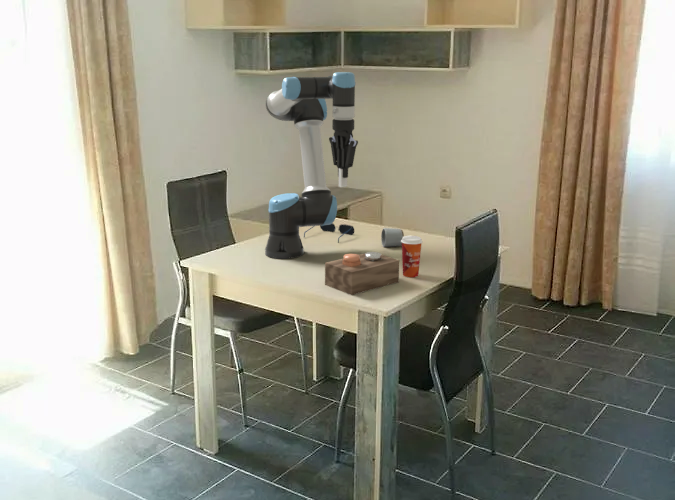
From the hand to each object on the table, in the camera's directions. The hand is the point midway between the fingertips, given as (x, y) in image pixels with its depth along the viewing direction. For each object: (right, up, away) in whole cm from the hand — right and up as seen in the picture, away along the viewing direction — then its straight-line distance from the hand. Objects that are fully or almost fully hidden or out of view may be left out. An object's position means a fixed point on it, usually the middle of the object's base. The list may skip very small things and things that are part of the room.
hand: (342, 186), depth 270 cm
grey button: (+11, -31, +2) cm, 33 cm away
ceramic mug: (+20, -21, +48) cm, 56 cm away
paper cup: (+25, -32, +9) cm, 41 cm away
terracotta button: (+3, -32, -5) cm, 32 cm away
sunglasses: (-5, -17, +61) cm, 63 cm away
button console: (+7, -34, -1) cm, 35 cm away
